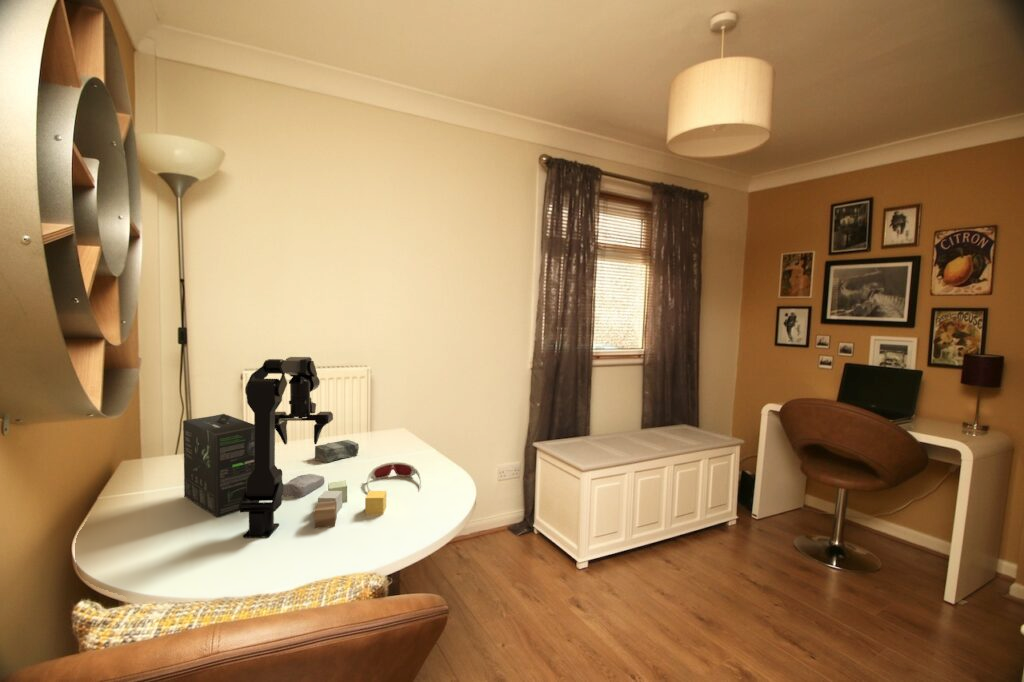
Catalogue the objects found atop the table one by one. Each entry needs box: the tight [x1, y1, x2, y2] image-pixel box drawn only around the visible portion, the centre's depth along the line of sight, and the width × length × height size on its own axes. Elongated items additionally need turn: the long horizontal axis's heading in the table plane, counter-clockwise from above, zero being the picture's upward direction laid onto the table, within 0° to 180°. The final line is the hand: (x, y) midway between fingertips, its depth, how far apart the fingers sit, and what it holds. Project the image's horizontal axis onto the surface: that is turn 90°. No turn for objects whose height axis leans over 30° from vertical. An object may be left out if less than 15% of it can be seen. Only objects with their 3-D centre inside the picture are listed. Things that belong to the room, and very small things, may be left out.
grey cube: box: [317, 490, 343, 514], centre depth 130 cm, size 5×5×5 cm
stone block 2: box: [314, 439, 360, 464], centre depth 177 cm, size 9×14×5 cm, turn 142°
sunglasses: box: [366, 461, 422, 492], centre depth 151 cm, size 17×17×5 cm
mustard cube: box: [364, 490, 387, 516], centre depth 131 cm, size 5×5×5 cm
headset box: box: [182, 413, 260, 518], centre depth 135 cm, size 22×12×26 cm, turn 56°
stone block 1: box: [282, 473, 326, 498], centre depth 145 cm, size 12×5×10 cm
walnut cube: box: [314, 501, 338, 529], centre depth 123 cm, size 5×5×5 cm
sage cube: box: [327, 480, 348, 504], centre depth 138 cm, size 5×5×5 cm
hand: (300, 444), depth 145 cm, fingers open, 9 cm apart
